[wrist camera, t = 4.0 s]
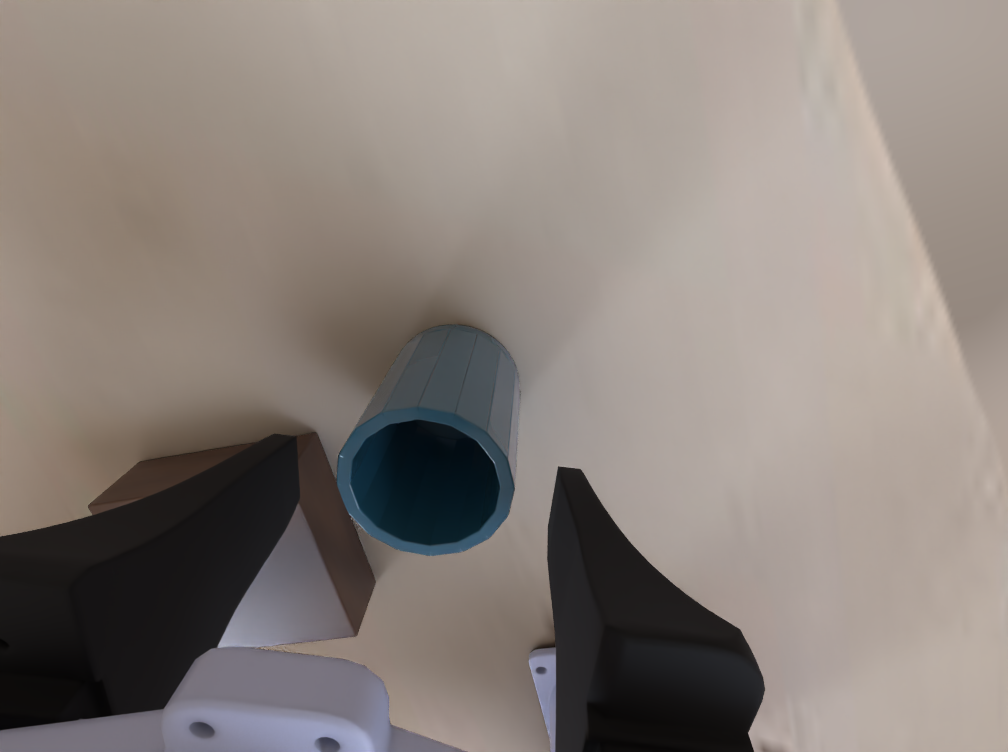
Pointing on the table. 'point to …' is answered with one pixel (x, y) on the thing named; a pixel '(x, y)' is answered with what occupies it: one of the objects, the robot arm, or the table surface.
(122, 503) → the walnut block
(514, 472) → the small cup
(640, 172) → the table surface
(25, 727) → the robot arm
